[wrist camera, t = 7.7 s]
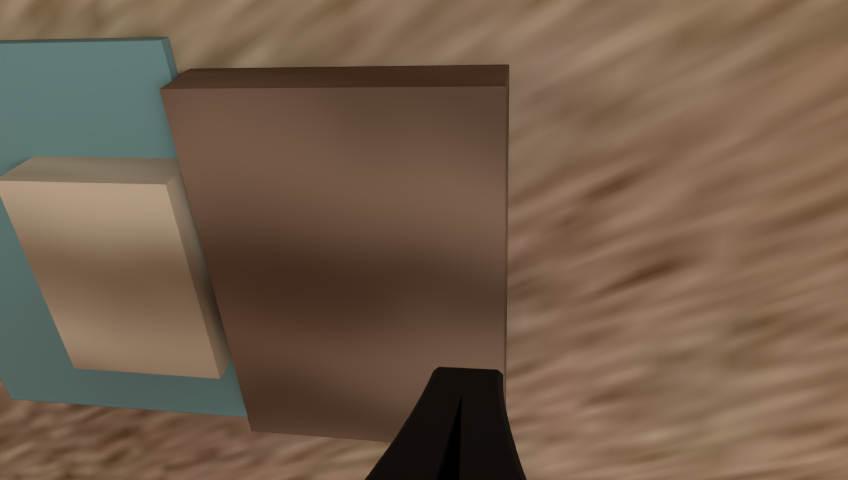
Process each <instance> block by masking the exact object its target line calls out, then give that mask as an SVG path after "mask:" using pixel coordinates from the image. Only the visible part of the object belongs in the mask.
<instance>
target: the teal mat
mask: <svg viewBox="0 0 848 480" xmlns="http://www.w3.org/2000/svg"><path fill="white" fill-rule="evenodd" d="M177 77H178V76H177V72H176V68H175V64H174V60H173V56H172V52H171V48H170V44H169V40H168V37H150V38H103V39H57V40H10V41H0V176H2V175H4V174H5V173H7V172H9V171H10V170H12V169H13V168H15V167H17V166H18V165H20V164H22V163H23V162H25V161H26V160H28V159H30V158H31V157H33V156H85V157H149V158H178V157H177V153H176V149H175V145H174V142H173V138H172V134H171V131H170V127H169V123H168V119H167V116H166V112H165V108H164V105H163V101H162V97H161V94H160V90H159V89H160V88H162V87H163V86H165V85H166V84H168V83H169V82H171V81H173V80H174V79H176V78H177ZM0 378H1V380H2V382H3V384H4V386H5V388H6V390H7V392H8V394H9V396H10V398H11V399H16V400H29V401H42V402H55V403H68V404H81V405H94V406H107V407H120V408H133V409H146V410H159V411H172V412H185V413H198V414H211V415H224V416H236V417H248V416H247V412H246V408H245V405H244V401H243V397H242V394H241V390H240V386H239V383H238V379H237V375H236V371H235V368H234V364H233V360H231V361H230V363H229V365H228V366H227V368H226V370H225V371H224V373H223V375H222V376H221V378H220V379H216V378H202V377H189V376H175V375H161V374H147V373H133V372H119V371H105V370H91V369H77V368H74V367H73V364H72V362H71V360H70V357H69V355H68V353H67V350H66V348H65V346H64V343H63V341H62V339H61V336H60V334H59V332H58V329H57V327H56V325H55V322H54V320H53V318H52V315H51V313H50V311H49V308H48V306H47V304H46V302H45V299H44V297H43V295H42V292H41V290H40V288H39V285H38V283H37V281H36V278H35V276H34V274H33V271H32V269H31V267H30V264H29V262H28V260H27V257H26V255H25V253H24V250H23V248H22V246H21V243H20V241H19V239H18V236H17V234H16V232H15V229H14V227H13V225H12V222H11V220H10V218H9V215H8V213H7V211H6V208H5V206H4V204H3V201H2V199H1V197H0Z"/></svg>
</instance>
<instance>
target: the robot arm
mask: <svg viewBox="0 0 848 480" xmlns="http://www.w3.org/2000/svg"><path fill="white" fill-rule="evenodd" d="M365 480H526V477H525V474H524V472H523V469H522V466H521V463H520V460H519V457H518V454H517V450H516V447H515V443H514V440H513V437H512V433H511V429H510V425H509V421H508V417H507V412H506V407H505V401H504V389H503V374H502V373H501V372H500V371H499V370H497V369H476V368H456V367H437V368H436V369H435V370H434V371H433V373H432V375H431V377H430V379H429V381H428V383H427V385H426V387H425V389H424V391H423V393H422V395H421V397H420V398H419V400H418V402H417V404H416V405H415V407H414V409H413V410H412V412H411V414H410V416H409V417H408V419H407V420H406V422H405V423H404V425H403V426H402V428H401V430H400V431H399V433H398V434H397V436H396V437H395V439H394V440H393V442H392V443H391V445H390V446H389V448H388V449H387V450H386V452H385V453H384V455H383V456H382V457H381V459H380V460H379V461H378V463H377V464H376V465H375V467H374V468H373V469H372V471H371V472H370V474H369V475H368V476H367V477H366V479H365Z"/></svg>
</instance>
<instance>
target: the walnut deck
mask: <svg viewBox="0 0 848 480" xmlns="http://www.w3.org/2000/svg"><path fill="white" fill-rule="evenodd" d="M159 90H160V94H161V97H162V101H163V105H164V108H165V112H166V116H167V119H168V123H169V127H170V131H171V134H172V138H173V142H174V145H175V149H176V153H177V157H178V160H179V164H180V168H181V171H182V175H183V179H184V182H185V186H186V190H187V194H188V197H189V201H190V205H191V208H192V212H193V216H194V220H195V223H196V227H197V231H198V234H199V238H200V242H201V245H202V249H203V253H204V257H205V260H206V264H207V268H208V271H209V275H210V279H211V283H212V286H213V290H214V294H215V297H216V301H217V305H218V308H219V312H220V316H221V320H222V323H223V327H224V331H225V334H226V338H227V342H228V345H229V349H230V353H231V357H232V360H233V364H234V368H235V371H236V375H237V379H238V383H239V386H240V390H241V394H242V397H243V401H244V405H245V408H246V412H247V416H248V420H249V423H250V427H251V431H259V432H271V433H284V434H296V435H309V436H321V437H333V438H346V439H358V440H371V441H383V442H393V440H394V439H395V437H396V436H397V434H398V433H399V431H400V430H401V428H402V426H403V425H404V423H405V422H406V420H407V419H408V417H409V416H410V414H411V412H412V410H413V409H414V407H415V405H416V404H417V402H418V400H419V398H420V397H421V395H422V393H423V391H424V389H425V387H426V385H427V383H428V381H429V379H430V377H431V375H432V373H433V371H434V370H435V369H436V368H437V367H456V368H476V369H497V370H499V371H500V372H501V373H502V374H503V389H504V401H505V407H506V336H507V235H508V135H509V65H455V66H378V67H301V68H225V69H190V70H188V71H187V72H185V73H183V74H182V75H180V76H179V77H177V78H176V79H174V80H173V81H171V82H169V83H168V84H166V85H165V86H163V87H162V88H160V89H159Z"/></svg>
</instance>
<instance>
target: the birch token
mask: <svg viewBox="0 0 848 480" xmlns="http://www.w3.org/2000/svg"><path fill="white" fill-rule="evenodd" d="M0 197H1V199H2V201H3V204H4V206H5V208H6V211H7V213H8V215H9V218H10V220H11V222H12V225H13V227H14V229H15V232H16V234H17V236H18V239H19V241H20V243H21V246H22V248H23V250H24V253H25V255H26V257H27V260H28V262H29V264H30V267H31V269H32V271H33V274H34V276H35V278H36V281H37V283H38V285H39V288H40V290H41V292H42V295H43V297H44V299H45V302H46V304H47V306H48V308H49V311H50V313H51V315H52V318H53V320H54V322H55V325H56V327H57V329H58V332H59V334H60V336H61V339H62V341H63V343H64V346H65V348H66V350H67V353H68V355H69V357H70V360H71V362H72V364H73V367H74V368H77V369H91V370H105V371H119V372H133V373H147V374H161V375H175V376H189V377H202V378H216V379H220V378H221V376H222V375H223V373H224V371H225V370H226V368H227V366H228V365H229V363H230V361H231V360H232V357H231V353H230V349H229V345H228V342H227V338H226V334H225V331H224V327H223V323H222V320H221V316H220V312H219V308H218V305H217V301H216V297H215V294H214V290H213V286H212V283H211V279H210V275H209V271H208V268H207V264H206V260H205V257H204V253H203V249H202V245H201V242H200V238H199V234H198V231H197V227H196V223H195V220H194V216H193V212H192V208H191V205H190V201H189V197H188V194H187V190H186V186H185V182H184V179H183V175H182V171H181V168H180V164H179V160H178V158H149V157H85V156H33V157H31V158H30V159H28V160H26V161H25V162H23V163H22V164H20V165H18V166H17V167H15V168H13V169H12V170H10V171H9V172H7V173H5V174H4V175H2V176H0Z"/></svg>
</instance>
